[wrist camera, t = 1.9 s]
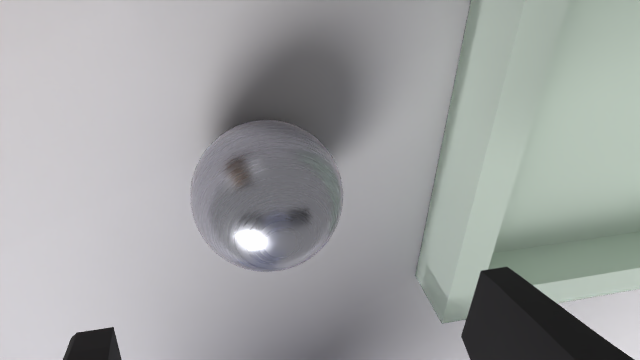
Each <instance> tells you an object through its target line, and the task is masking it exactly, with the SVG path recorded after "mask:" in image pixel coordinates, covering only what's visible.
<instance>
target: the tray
mask: <svg viewBox="0 0 640 360" xmlns="http://www.w3.org/2000/svg"><path fill="white" fill-rule="evenodd" d="M501 267H509V268H510V269H511V270H513V271H514V272H516V273H517V274H518V275H520V276H521V277H522V278H524V279H525V280H526V281H528V282H529V283H530V284H532V285H533V286H534V287H536V288H537V289H538V290H540V291H541V292H542V293H544V294H545V295H546V296H548V297H549V298H550V299H552V300H553V301H554V302H556V303H562V302H568V301H574V300H580V299H585V298H591V297H597V296H602V295H608V294H614V293H619V292H625V291H631V290H636V289H640V0H471V3H470V8H469V12H468V17H467V22H466V27H465V32H464V37H463V42H462V47H461V52H460V57H459V62H458V67H457V72H456V77H455V82H454V87H453V92H452V97H451V101H450V106H449V111H448V116H447V121H446V126H445V131H444V136H443V141H442V146H441V151H440V156H439V161H438V166H437V171H436V176H435V181H434V186H433V191H432V195H431V200H430V205H429V210H428V215H427V220H426V225H425V230H424V235H423V240H422V245H421V250H420V255H419V260H418V265H417V270H416V275H415V276H416V278H417V280H418V281H419V283H420V285H421V287H422V289H423V290H424V292H425V294H426V296H427V298H428V299H429V301H430V303H431V305H432V307H433V308H434V310H435V312H436V314H437V316H438V317H439V319H440V321H441V323H442V324H443V323H449V322H455V321H460V320H466V319H467V316H468V312H469V309H470V306H471V302H472V299H473V296H474V292H475V289H476V285H477V282H478V279H479V275H480V272H481V271H482V270H488V269H495V268H501Z"/></svg>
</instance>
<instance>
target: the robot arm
mask: <svg viewBox="0 0 640 360" xmlns="http://www.w3.org/2000/svg"><path fill="white" fill-rule="evenodd" d="M461 337H462V339H463V342H464V344H465V347H466V349H467V352H468V354H469V357H470V359H471V360H634V359H632V358H631V357H630V356H628V355H627V354H625V353H624V352H622V351H621V350H620V349H618V348H617V347H615V346H614V345H612V344H611V343H610V342H608V341H607V340H605V339H604V338H603V337H601V336H600V335H599V334H597V333H596V332H594V331H593V330H592V329H590V328H589V327H588V326H586V325H585V324H584V323H582V322H581V321H580V320H578V319H577V318H575V317H574V316H573V315H571V314H570V313H569V312H567V311H566V310H565V309H564V308H562V307H561V306H560V305H558V304H557V303H556V302H554V301H553V300H552V299H550V298H549V297H548V296H546V295H545V294H544V293H542V292H541V291H540V290H538V289H537V288H536V287H534V286H533V285H532V284H530V283H529V282H528V281H526V280H525V279H524V278H522V277H521V276H520V275H518V274H517V273H516V272H514V271H513V270H511V269H510V268H509V267H501V268H495V269H488V270H482V271H481V272H480V275H479V279H478V282H477V285H476V289H475V292H474V296H473V299H472V302H471V306H470V309H469V312H468V316H467V319H466V322H465V326H464V329H463V332H462V336H461ZM63 360H121V356H120V352H119V348H118V344H117V340H116V335H115V331H114V327H111V328H105V329H98V330H92V331H85V332H79V333H76V334H75V335H74V336H73V337H72V338H71V340H70V343H69V345H68V348H67V351H66V353H65V356H64V358H63Z"/></svg>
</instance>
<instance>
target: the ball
mask: <svg viewBox="0 0 640 360" xmlns="http://www.w3.org/2000/svg"><path fill="white" fill-rule="evenodd" d="M342 204H343V188H342V182H341V176H340V173H339V170H338V168H337V165H336V163H335V161H334V159H333V157H332V156H331V154H330V153H329V151H328V150H327V149H326V147H325V146H324V145H323V144H322V143H321V142H320V141H319V140H318V139H317V138H316V137H315V136H313V135H312V134H310V133H309V132H307V131H306V130H304V129H302V128H300V127H298V126H296V125H293V124H290V123H287V122H282V121H275V120H257V121H251V122H247V123H243V124H241V125H238V126H236V127H234V128H232V129H230V130H228V131H226V132H225V133H223V134H222V135H221V136H219V137H218V138H217V139H216V140H215V141H214V142H213V143H212V144H211V145H210V146H209V147H208V148H207V149H206V151H205V152H204V154H203V155H202V157H201V158H200V160H199V162H198V164H197V166H196V169H195V172H194V175H193V179H192V184H191V208H192V213H193V218H194V220H195V223H196V226H197V228H198V230H199V232H200V234H201V235H202V237H203V239H204V240H205V241H206V242H207V244H208V245H209V246H210V247H211V249H213V250H214V251H215V252H216V253H217V254H218V255H219V256H221V257H222V258H224V259H225V260H226V261H228V262H230V263H232V264H234V265H236V266H239V267H241V268H244V269H248V270H252V271H261V272H273V271H281V270H285V269H289V268H292V267H294V266H297V265H299V264H301V263H303V262H305V261H307V260H308V259H310V258H311V257H312V256H314V255H315V254H316V253H317V252H318V251H319V250H320V249H321V248H322V247H323V246H324V245H325V244H326V243H327V242H328V240H329V239H330V237H331V236H332V234H333V232H334V230H335V228H336V226H337V224H338V221H339V218H340V215H341V210H342Z"/></svg>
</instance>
